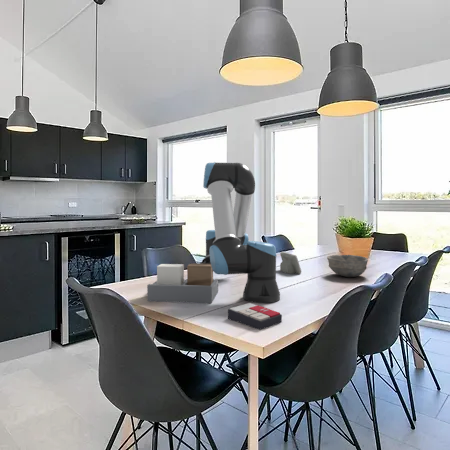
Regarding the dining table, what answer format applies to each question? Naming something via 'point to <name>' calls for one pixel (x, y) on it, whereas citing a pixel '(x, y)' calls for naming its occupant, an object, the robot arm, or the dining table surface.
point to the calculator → (254, 316)
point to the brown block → (199, 274)
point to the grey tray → (182, 292)
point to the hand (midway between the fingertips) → (201, 272)
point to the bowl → (347, 265)
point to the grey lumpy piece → (289, 263)
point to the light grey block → (170, 274)
